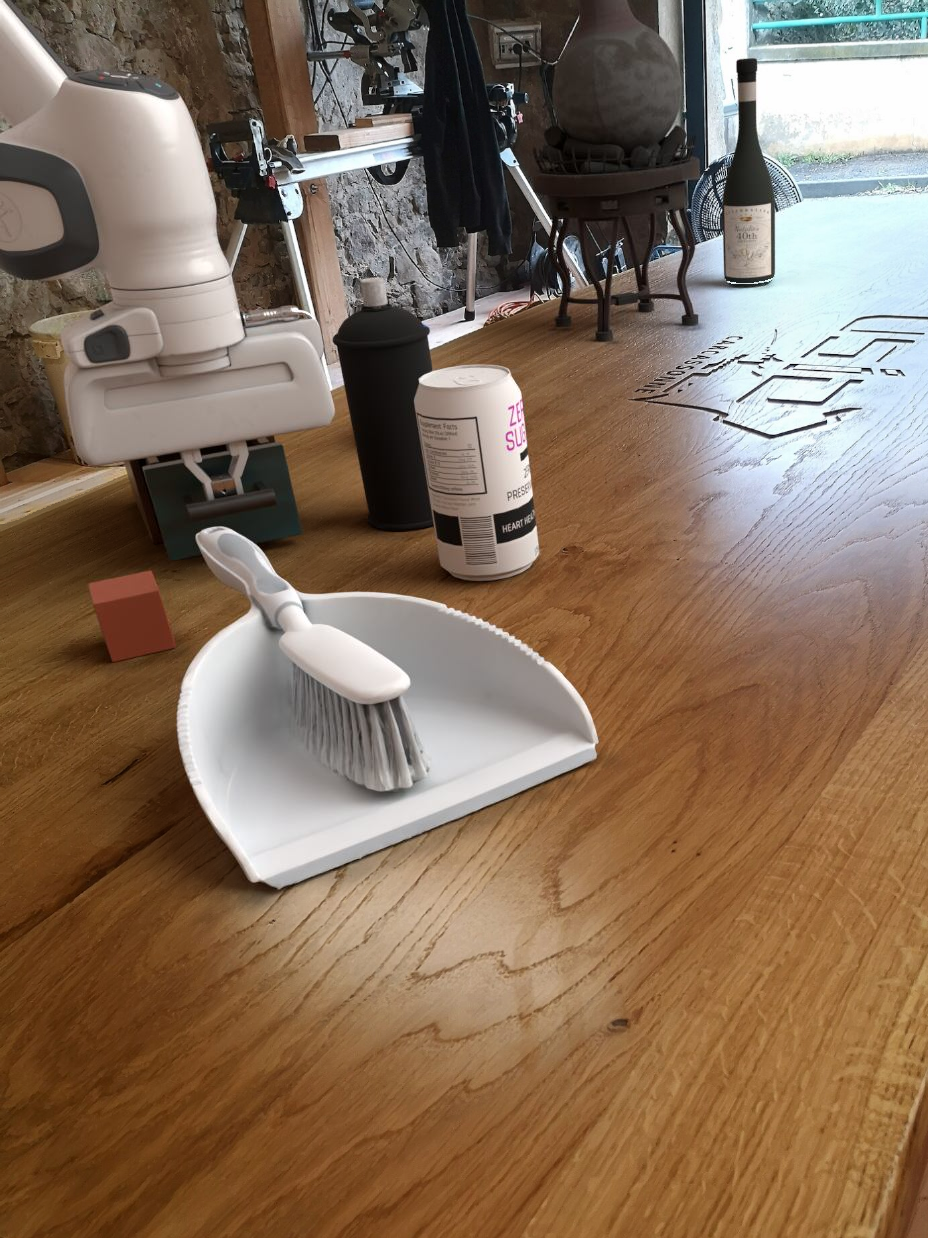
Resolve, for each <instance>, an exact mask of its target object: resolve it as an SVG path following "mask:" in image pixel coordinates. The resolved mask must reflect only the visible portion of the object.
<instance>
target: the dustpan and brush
mask: <svg viewBox="0 0 928 1238" xmlns="http://www.w3.org/2000/svg"><path fill="white" fill-rule="evenodd" d="M196 542H197V544H198V546H199V549H200V551H201V553H202V555H201V556H202V557H203V559H204V561H205V563H206V565H207V566H208V568H209V570H210V571H211V572H212V574H213V575H214V576H215V578H217V580H219V581H220V582H221V583H222V584H223V585H225V586H226V587H228V588H230V589H232V590H234V591H237V592H239V593H241V594H242V595H243V596H245V597H246V598H248V599H249V602H250V609H249V610H248V611H247V613H246V614H244V615H243V616H241V617H240V618H238V619H237V620H236V621H234V622H232V623H230V624H229V625H227V626H226V627H224V628H223V629H221V630H219V631H218V632H217V633H216V634H214V635H213V637H211V638H210V639H209V640H208V641H207V642H206V643H205V644H204V645H203V646H202V648H201V649H199V651H198V652H197V654H196V655H195V656H194V658H193V659H192V661H191V662H190V664H189V666H188V668H187V670H186V672H185V674H184V676H183V679H182V681H181V685H180V694H179V699H178V701H177V704H178V705H176V707H177V709H176V710H177V712H176V734H177V741H178V743H177V744H178V748H179V752H180V758H181V762H182V765H183V767H184V771H185V773H186V776H187V780H188V781H189V785H190V786H191V788H192V791H193V794H194V796H195V798H196V800H197V802H198V804H199V806H200V808H201V809H202V811H203V813H204V815H205V816H206V819H207V820H208V822H209V823H210V825H211V826H212V828H213V830H214V831H215V832H216V834H217V835H218V837H219V838H220V839H221V840H222V842H223V843H224V844H225V846H226V847H227V848H228V849H229V851H230V852H231V853H232V855H233V856H234V858H235V860H236V862H237V863H238V864H239V866H240V868H241V870H242V872H243V873H244V875H245V877H246V878H247V880H248V881H249V882H251V883H252V884H255V883H259V882H261V883H264V884H266V885H267V886H270V887H271V888H276V890H278V891H279V890H281V889H283V888H284V887H287V886H292V885H293V884H298V883H300V882H303V881H305V880H307V879H310V878H312V877H315V876H317V875H320V874H322V873H325V872H328V871H330V870H333V869H335V868H338V867H341V866H343V865H345V864H347V863H350V862H352V861H355V860H358V859H362V858H363V857H365V856H367V855H370V854H373V853H376V852H378V851H380V850H383V849H385V848H387V847H390V846H393V845H396V844H398V843H400V842H403V841H405V840H409V839H411V838H413V837H416V836H418V835H420V834H421V835H422V833H425V832H428V831H431V830H432V829H436V828H437V827H440V826H442V825H445V824H447V823H449V822H450V823H451V822H453V821H455V820H458V819H460V818H462V817H465V816H468V815H470V814H472V813H474V812H477V811H479V810H481V809H483V808H485V807H488V806H491V805H493V804H495V803H496V804H497V802H500V801H503V800H505V799H508V798H510V797H512V796H515V795H516V794H519V793H521V792H523V791H526V790H528V789H531V788H532V787H534V786H537V785H539V784H542V783H544V782H547V781H549V780H552V779H554V778H555V777H559V776H560V775H562V774H564V773H567V772H569V771H571V770H574V769H576V768H579V767H581V766H584V765H585V764H587V763H590V762H592V761H595V760H596V759H597V751H596V745H598V744H599V743H600V742H599V738H598V734H597V729H596V726H595V724H594V719H593V718H592V715H591V712H590V710H589V708H588V706H587V704H586V703H585V700H584V699H583V698H582V696H581V695H580V693H579V692H578V690H577V689H576V688H575V687H574V685H573V684H572V683H571V682H570V681H569V680H568V679H567V678H566V676H564V675H563V673H562V672H561V671H560V670H558V668H557V667H555V665H553V664H552V663H551V662H550V661H548V660H547V661H546V660H545V657H543V656H540V654H539V652H536V651H534V650H533V648H532V647H529V646H528V644H527V643H522V640H521V639H517V638H516V636H515V635H510V634H509V632H508V631H503V629H502V628H501V627H499V628H497V626H496V625H495V624H490V623H489V621H484V620H483V619H482V618H477V617H476V616H475V615H470V614H469V613H468V612H462V610H455V608H454V607H449V608H448V607H447V605H446V604H444V603H441V602H438V601H433V600H430V599H425V598H421V597H417V596H411V595H403V594H397V593H391V592H389V593H388V592H378V591H377V592H376V591H343V592H330V593H329V592H328V593H304V592H300V591H298V590H297V589H295V588H294V587H293V586H292V585H291V584H290V582H288V581H287V580H286V579H284V578H282V577H281V576H280V575H278V574H277V573H276V571H275V570H274V567H273V566H272V564H271V562H270V560H269V558H268V556H266V554H265V553H264V551H263V550H262V549H261V548H260V546H258V545H257V543H256V544H254V543H253V542H252V541H250V540H249V539H247V538H246V537H244V536H242V535H240V534H238V533H236V532H235V531H233V530H231V529H229V528H226V527H211V528H207V529H204V530H202V531H201V532H200V533H198V534H196Z"/></svg>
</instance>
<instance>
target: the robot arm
mask: <svg viewBox="0 0 928 1238" xmlns="http://www.w3.org/2000/svg"><path fill="white" fill-rule="evenodd" d="M0 115H1V116H2V117H3V118H4V119H5V120H6V121H7V122H8V123H9V124H10V126H11V128H8V129H7V130H5V131H3V132H0V270H1V271H3V272H4V273H6V274H8V275H10V276H12V277H15V278H18V279H20V280H25V281H26V280H27V281H39V282H40V281H41V282H50V281H58V280H62V279H65V278H69V277H72V276H74V275H77V274H78V275H79V274H84V273H88V272H91V271H94V270H97V269H98V270H100V271H102V273H103V274H104V275H105V277H106V279H107V282H108V285H109V289H110V292H111V296H112V301H110V302H108V303H106V304H103V305H102V306H100V307H98V308H96V309H94V310H92V311H89V312H88V313H86V314H84V315H82V316H80V317H78V318H76V319H73V320H72V321H70V322H68V323H67V324H65V325H64V326H63V327H62V329H61V331H60V342H61V346H62V349H63V351H64V353H65V357H66V358H67V359H68V360H69V361H70V362H68V364H67V366H66V367H65V370H64V373H63V393H64V401H65V408H66V413H67V419H68V423H69V428H70V432H71V437H72V440H73V444H74V448H75V451H76V455H77V456H78V458H79V459H81V460H82V461H83V462H84V463H86V464H87V465H88V466H90V467H93V468H94V467H102V466H107V465H113V464H118V463H124V462H125V461H131V460H136V459H142V458H148V457H154V456H160V455H165V454H171V453H177V452H180V455H181V459H182V461H183V463H184V464H185V466H186V467H187V468H188V469H189V470H190V471H191V472H192V473H193V474H194V475H195V476H196V477H197V478H198V479H199V480H200V482H201V483H202V485H203V489H204V493H205V496H206V499H207V501H208V500H213V499H218V498H223V497H228V496H234V495H239V494H244V492H243V488H242V484H241V480H240V477H241V476H242V473H243V470H244V467H245V464H246V461H247V458H248V455H249V453H248V449H247V445H246V440H252V439H258V438H264V437H270V436H274V437H275V436H281V435H285V434H286V435H287V434H292V433H299V432H304V431H309V430H316V429H321V428H327V427H329V426H330V425H331V423H332V421H333V419H334V418H335V415H336V409H335V408H336V407H335V404H334V399H333V396H332V392H331V388H330V384H329V381H328V379H327V375H326V373H325V370H324V366H323V365H322V362H321V360H322V358H323V356H324V351H325V343H324V338H323V332H322V327H321V325H320V322H319V321H318V320H317V318H316V317H315V315H313V314H312V313H311V312H309V311H307V310H303V309H299V308H298V306H297V305H283V306H280V307H277V308H269V309H268V308H267V309H265V308H264V309H263V308H262V309H253V310H244V311H240V308H239V303H238V297H237V294H236V288H235V284H234V280H233V275H232V271H231V268H230V264H229V262H228V260H227V258H226V256H225V253H224V252H223V250H222V248H221V245H220V242H219V237H218V231H217V217H218V216H217V213H218V212H217V204H216V199H215V194H214V190H213V187H212V182H211V178H210V175H209V174H210V173H209V171H208V167H207V163H206V159H205V155H204V152H203V150H202V144H201V142H200V139H199V135H198V133H197V129H196V128H195V127H196V126H195V123H194V122H193V118H192V116H191V114H190V111H189V109H188V107H187V105H186V103H185V102H184V100H183V98H182V96H181V95H180V94H179V92H178V91H177V90H176V89H175V88H174V87H173V86H172V85H170V84H169V83H167V82H165V81H163V80H161V79H160V78H158V77H155V76H153V75H152V76H151V75H147V74H143V73H138V72H131V71H124V70H106V69H87V70H80V71H76V72H74V73H73V72H72V71H71V70H70V68H69V67H68V66H67V65H66V63H65V62H63V60H62V59H61V58H60V57H59V56H58V54H57V53H56V52H55V51H54V49H52V47H51V46H50V45H49V43H47V42H46V40H45V39H44V37H42V35H41V34H40V33H39V32H38V30H36V29H35V27H34V26H33V25H32V23H30V21H29V20H28V19H27V17H26V16H25V15H24V14H23V13H22V12H21V10H20V9H19V8H18V7H17V6H16V4H15V3H14V2H13V1H12V0H0ZM300 316H302V317H304V318H301V317H300ZM223 444H226V448H227V450H228V451H229V453H230V454H231V456H233V457H232V460H231V464H230V467H229V471H228V473H225V474H220V475H214V476H208V475H207V474H206V473H205V472H204V471H203V469H202V468H201V467H200V466H199V465H198V464H197V463H199V462H201V461H202V458H201V454H200V450H199V449H200V448H206V447H212V446H218V445H223Z"/></svg>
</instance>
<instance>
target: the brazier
mask: <svg viewBox="0 0 928 1238" xmlns="http://www.w3.org/2000/svg"><path fill="white" fill-rule="evenodd" d="M577 2H578V23H577V28H576V31H575V33H574V35H573V37H572V38H571V39H570V41H569V42H568V43H567V45H566V46H565V47H564V48H563V51H562V52H561V54H560V55H559V58H558V61H557V63H556V66H555V70H554V75H553V78H552V79H553V80H552V89H551V90H552V91H551V94H552V108H553V111H554V114H555V118H556V121H557V122H558V125H555V124H554V125H550V127H548V128H547V129H546V130H544V131H543V137H544V140H545V142H546V144H543V145H542V148H541V147H538V153H537V149H536V146H533V148H532V153H533V156H534V157H533V158H534V161H535V163H536V165H537V166H538V169H535V170H532V171H531V173H530V174H531V182H532V191H533V193H535V194H538V195H542V196H547V200H548V209H549V214H550V215H551V217H552V218H551V219H552V220H551V228H550V232H549V237H548V242H547V257H548V260H549V262H550V265H552V267H553V269H554V270H555V272H556V273H557V275H558V276H559V278H560V281H561V287H562V288H561V289H562V290H561V298H560V303H559V308H558V315H557V316H555V317H554V322H555V323H554V325H555V327H569V326H571V325H572V324H573V321H572V316H571V315H568V306H569V304H575V305H576V304H577V305H597V315H596V316H597V318H596V319H597V320H596V325H597V328H596V329H597V330H596V331H594V335H595V336H594V337H595V341H596V342H608V341H613V339H614V335H613V334H614V333H613V329H611V323H610V322H611V306H617V307H619V306H625V305H631V304H637V311H638V312H641V313H645V312H647V313H649V312H653V311H654V310H655V306H654V305H655V302H654V301H652V300H661V299H662V300H674V301H675V300H676V301H680V302H682V305H683V308H684V313H685V314H683V315H681V325H682V326H694V325H698V324H699V314H697V313H695V311H694V307H693V303H692V300H691V297H690V295H689V292H688V288H687V283H686V282H687V280H686V279H687V278H686V276H687V273H688V270H689V267H690V266H691V263H692V260H693V258H694V255H695V252H696V240H695V235H694V232H693V229H692V226H691V224H690V222H689V218H688V215H687V211H686V204H687V183H686V181H689V180H691V181H692V180H693V181H694V180H700V179H701V167H700V163H701V162H700V158H699V157H696V156H694V155H693V152H694V149H695V144H696V137H697V135H696V134H693V135H692V137H688V135H687V132H686V131H685V129H683V127H682V126H680V125H678V124H677V125H674V123H675V122H676V119H677V117H678V114H679V111H680V108H681V104H682V95H683V84H682V81H683V80H682V76H681V73H680V68H679V65H678V62H677V60H676V57H675V55H674V53H673V52H672V50H671V48H670V47H669V45H668V44H667V42H666V41H665V40H664V39H663V38H662V36H661V35H660V34H658V33H657V32H656V31H655V30H654V29H652V28H651V27H648V26H647V25H646V24H644V23H642V22H641V21H640V20H638V19H637V18H636V17H635V16H634V14H633V13H632V11H631V8H630V6H629V3H628V0H577ZM673 126H674V127H673ZM672 127H673V128H672ZM678 153H679V154H678ZM685 153H686V154H685ZM692 155H693V156H692ZM546 163H549V165H550V167H547V166H546ZM657 199H661V202H659V203H657ZM609 202H612V203H613V204H615V202H616V204H617V208H610V209H609V208H604V207H603V204H604V203H606V204H609ZM666 211H668V217H669V220H670V223H671V226H672V228H673V231H674V233H675V236H677V238H678V241H679V244H680V246H681V252H682V256H681V261H680V263H679V268H678V270H677V276H676V285H677V291H678V293H679V294H677V293H651V288H650V282H649V264H650V261H651V259H652V254H653V252H654V248H655V244H656V240H657V234H658V233H657V232H658V231H657V229H658V217H657V213H660V212H666ZM677 212H678V213H679V216H680V220H681V223H682V226H683V227H684V230H685V233H686V235H685V234H684V231H683V229H682V227H681V225H680V222H679V219H678V217H677ZM648 214H649V221H650V223H649V225H650V226H649V227H650V228H649V240H648V244H647V248H646V252H645V255H644V257H643V261H642V265H641V266H640V260H639V255H638V252H637V247H636V241H635V238H634V235H633V232H632V228H631V226H630V223H629V220H628V218H627V217H633V216H640V215H641V216H642V215H648ZM559 218H562V221H561V226H560V228H559V232H558V227H559V223H560V221H559V220H560V219H559ZM571 219H577V223H578V224H577V225H578V233H579V248H580V255H581V260H582V265H583V268H584V271H585V272H586V274H587V276H588V279H589V280H590V282H591V284H592V285H593V287H594V290H595V291H596V298H575V297H571V291H572V277H571V274H570V270H569V267H568V265H567V262H566V259H565V256H564V252H563V251H564V250H563V249H564V243H565V242H564V241H565V237H566V234H567V231H568V229H569V225H570V221H571ZM620 220H621V223H622V226H623V228H624V231H625V234H626V238H627V241H628V247H629V250H630V256H631V259H632V265H633V268H634V274H635V280H636V286H637V292H632V291H629V292H623V293H618V294H617V293H616V294H612V282H613V272H614V263H615V257H616V250H617V245H618V239H619V233H620V224H621V223H620ZM589 222H590V223H591V222H612V234H611V240H610V245H609V251H608V255H607V256H608V257H607V263H606V273H605V284H604V290H603V287H602V284H601V282H600V280H599V278H598V277H597V275H596V273H595V271H594V269H593V267H592V265H591V261H590V257H589V256H590V255H589V249H588V240H587V239H588V237H587V224H586V223H589ZM557 232H558V235H557ZM556 237H557V240H556ZM686 237H687V238H686ZM555 241H556V244H555Z"/></svg>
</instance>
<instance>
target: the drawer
mask: <svg viewBox="0 0 928 1238" xmlns="http://www.w3.org/2000/svg"><path fill="white" fill-rule="evenodd" d="M246 445H247V449H248V453H249V455H248V458H247V461H246V464H245V467H244V470H243V473H242V476H241V477H240V480H241V484H242V488H243V492H244V494H239V495H234V496H228V497H223V498H218V499H213V500H208V501H207V499H206V496H205V493H204V489H203V485H202V483H201V482H200V480H199V479H198V478H197V477H196V476H195V475H194V474H193V473H192V472H191V471H190V470H189V469H188V468H187V467H186V466H185V464H184V463H183V461H182V459H181V455H180V452H177V453H171V454H165V455H160V456H154V457H148V458H142V461H143V464H144V466H143V467H142V469H143V472H144V475H145V479H146V482H147V486H148V489H149V493H150V496H151V499H152V503H153V506H154V510H155V513H156V517H157V520H158V523H159V527H160V530H161V534H162V537H163V541H164V542H163V544H164V548H165V550H166V554H167V557H168V560H169V562H174V561H178V560H183V559H188V558H194V557H198V556H203V555H202V553H201V551H200V549H199V546H198V544H197V542H196V534H198V533H200V532H201V531H202V530H204V529H207V528H211V527H226V528H229V529H231V530H233V531H235V532H236V533H238V534H240V535H242V536H244V537H246V538H247V539H249V540H250V541H252V542H253V543H254V544H256V545H257V544H262V543H265V542H271V541H275V540H280V539H285V538H290V537H294V536H299V535H303V529H302V524H301V520H300V516H299V511H298V506H297V502H296V498H295V493H294V489H293V484H292V480H291V477H290V476H291V475H290V471H289V466H288V461H287V458H286V453H285V448H284V445H283V443H282V442H281V441H275V443H269V441H268V440H267V439H266V437H264V438H258V439H252V440H246ZM199 450H200V454H201V458H202V461H201V462H199V463H197V464H198V465H199V466H200V467H201V468H202V469H203V471H204V472H205V473H206V474H207V475H208V476H214V475H220V474H225V473H228V471H229V467H230V464H231V460H232V457H233V456H231V454H230V453H229V451H228V450H227V448H226V444H223V445H218V446H212V447H206V448H200V449H199Z"/></svg>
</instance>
